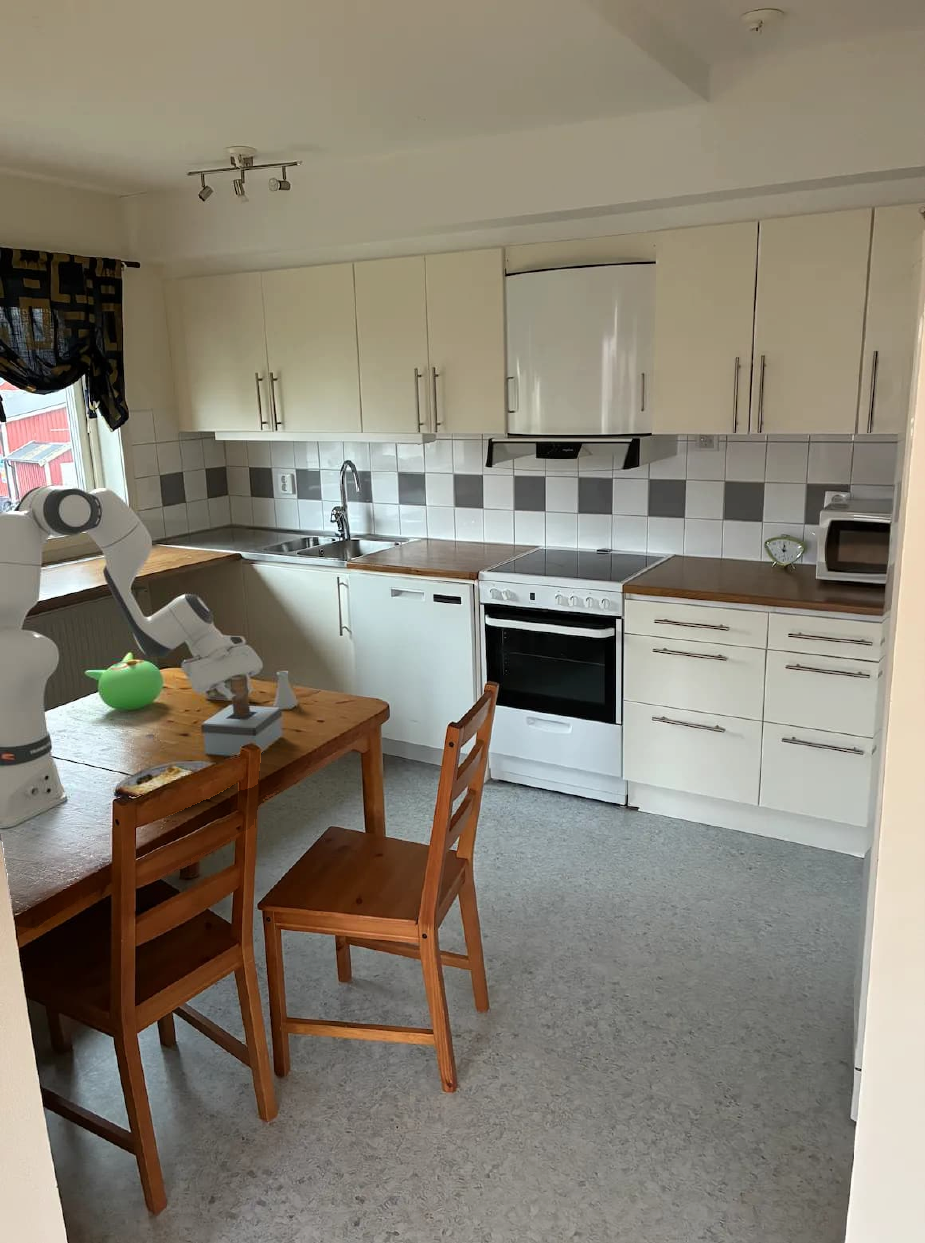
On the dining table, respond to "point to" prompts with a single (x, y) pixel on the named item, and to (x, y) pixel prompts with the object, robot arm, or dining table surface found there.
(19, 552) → the robot arm
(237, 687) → the beige cylinder
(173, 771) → the food plate
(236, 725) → the collar block
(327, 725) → the dining table surface
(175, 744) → the dining table surface
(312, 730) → the dining table surface
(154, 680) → the toy bird
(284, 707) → the flask
